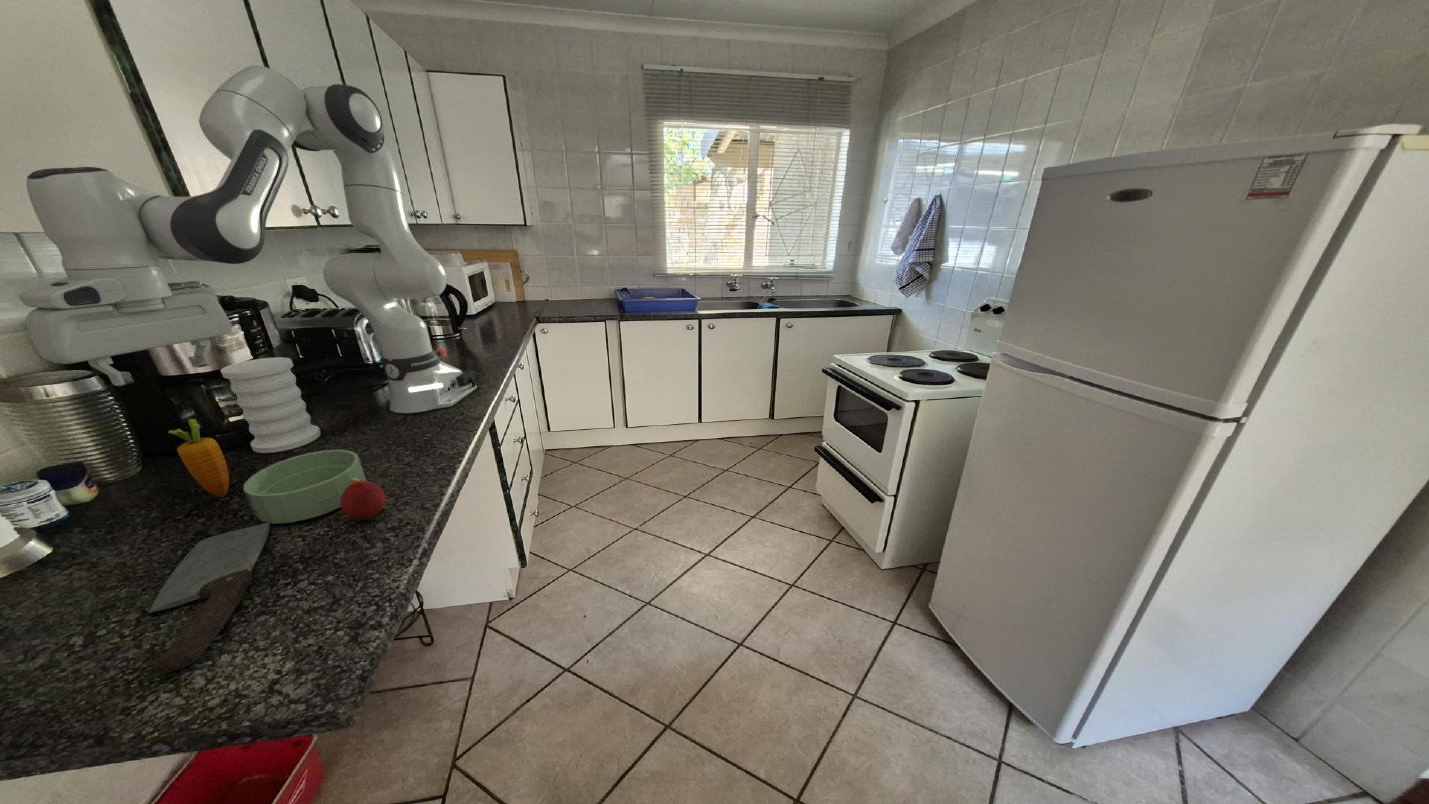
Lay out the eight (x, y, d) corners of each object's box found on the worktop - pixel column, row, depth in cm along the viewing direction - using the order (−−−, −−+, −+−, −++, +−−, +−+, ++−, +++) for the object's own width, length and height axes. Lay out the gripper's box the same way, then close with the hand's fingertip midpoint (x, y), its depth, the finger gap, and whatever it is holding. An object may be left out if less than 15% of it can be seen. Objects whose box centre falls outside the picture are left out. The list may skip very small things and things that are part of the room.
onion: (386, 504, 79) (373, 465, 76) (393, 518, 75) (380, 478, 72) (345, 518, 75) (330, 477, 72) (350, 534, 71) (335, 492, 68)
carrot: (216, 507, 78) (177, 429, 72) (195, 503, 79) (154, 427, 73) (249, 491, 82) (214, 417, 77) (228, 488, 83) (192, 414, 77)
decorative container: (238, 449, 97) (203, 370, 90) (297, 426, 107) (269, 355, 101) (277, 456, 94) (243, 376, 87) (333, 432, 105) (307, 359, 98)
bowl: (323, 472, 88) (313, 446, 86) (388, 481, 86) (379, 454, 83) (233, 519, 75) (218, 489, 72) (306, 532, 72) (293, 501, 70)
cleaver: (224, 657, 51) (217, 644, 50) (93, 704, 46) (82, 690, 45) (276, 524, 74) (271, 513, 73) (191, 546, 69) (185, 535, 68)
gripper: (195, 278, 77) (227, 356, 82) (-3, 296, 58) (55, 394, 63) (223, 280, 76) (254, 358, 81) (31, 298, 57) (86, 398, 62)
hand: (165, 374), depth 72 cm, fingers open, 8 cm apart
